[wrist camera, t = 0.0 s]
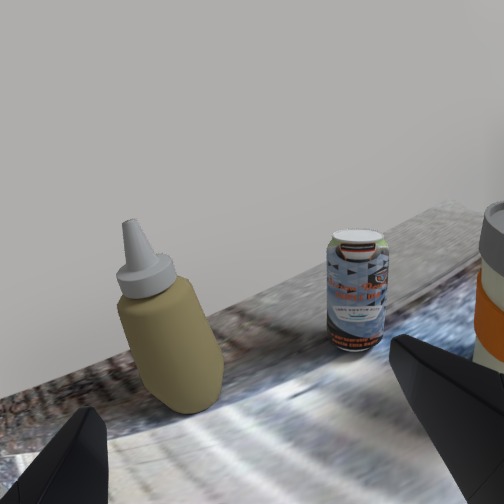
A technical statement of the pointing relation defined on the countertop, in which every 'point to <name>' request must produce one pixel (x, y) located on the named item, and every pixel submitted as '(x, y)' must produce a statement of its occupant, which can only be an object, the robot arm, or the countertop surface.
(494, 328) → the reusable coffee cup
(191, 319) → the squeeze bottle
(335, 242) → the beverage can
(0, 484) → the axle
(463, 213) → the countertop surface
